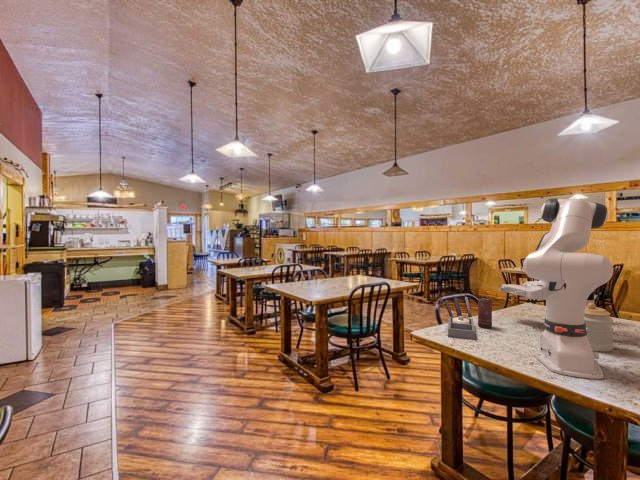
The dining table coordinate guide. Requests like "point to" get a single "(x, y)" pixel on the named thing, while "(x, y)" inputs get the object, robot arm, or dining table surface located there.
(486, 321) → the can
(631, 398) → the dining table surface
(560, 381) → the dining table surface
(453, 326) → the tray
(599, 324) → the jar
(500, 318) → the dining table surface
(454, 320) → the cream knobbed oval piece
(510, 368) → the dining table surface
